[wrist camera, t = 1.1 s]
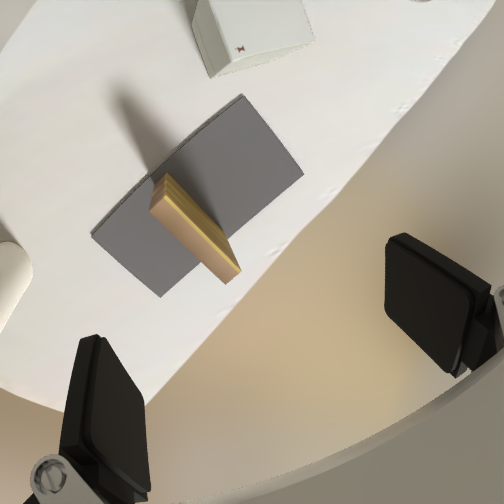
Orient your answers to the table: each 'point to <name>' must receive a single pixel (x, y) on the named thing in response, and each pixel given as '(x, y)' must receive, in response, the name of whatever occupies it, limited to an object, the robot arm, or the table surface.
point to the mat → (201, 194)
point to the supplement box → (248, 32)
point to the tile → (193, 228)
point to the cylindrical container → (12, 278)
